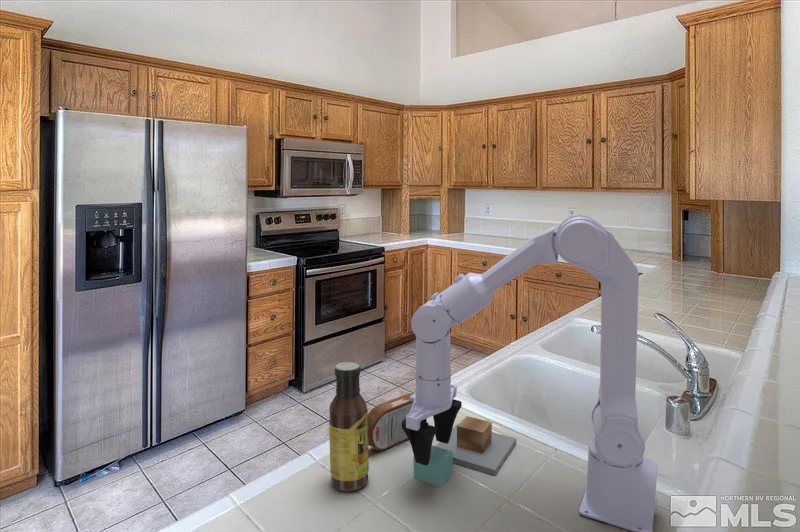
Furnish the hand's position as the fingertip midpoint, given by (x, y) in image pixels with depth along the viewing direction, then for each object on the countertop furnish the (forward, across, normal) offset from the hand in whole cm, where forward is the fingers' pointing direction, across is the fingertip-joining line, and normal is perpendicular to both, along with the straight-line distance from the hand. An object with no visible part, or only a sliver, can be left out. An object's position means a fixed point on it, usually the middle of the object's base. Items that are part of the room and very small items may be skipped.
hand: (432, 451), depth 79 cm
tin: (+4, -6, -11) cm, 13 cm away
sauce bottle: (+4, +8, -11) cm, 15 cm away
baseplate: (+4, -11, +3) cm, 12 cm away
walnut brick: (+3, -11, +3) cm, 12 cm away
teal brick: (+4, 0, 0) cm, 4 cm away
